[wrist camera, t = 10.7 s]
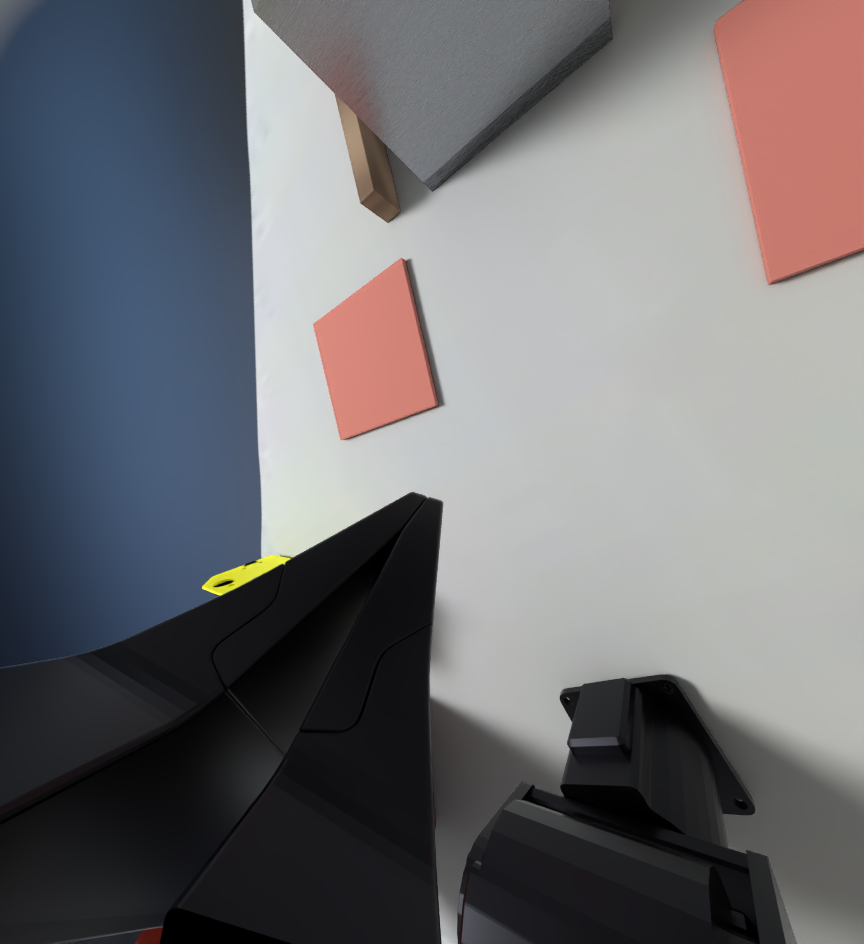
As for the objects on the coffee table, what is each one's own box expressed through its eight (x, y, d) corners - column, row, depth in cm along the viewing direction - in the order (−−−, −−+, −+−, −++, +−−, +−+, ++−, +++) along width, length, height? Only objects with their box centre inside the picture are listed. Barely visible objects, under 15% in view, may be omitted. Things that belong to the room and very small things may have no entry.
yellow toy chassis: (380, 565, 28) (291, 614, 21) (388, 627, 28) (305, 695, 22) (278, 548, 37) (192, 578, 30) (285, 595, 38) (204, 636, 31)
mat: (438, 405, 22) (435, 405, 22) (344, 439, 28) (340, 440, 27) (404, 260, 22) (401, 257, 22) (317, 325, 28) (313, 324, 27)
